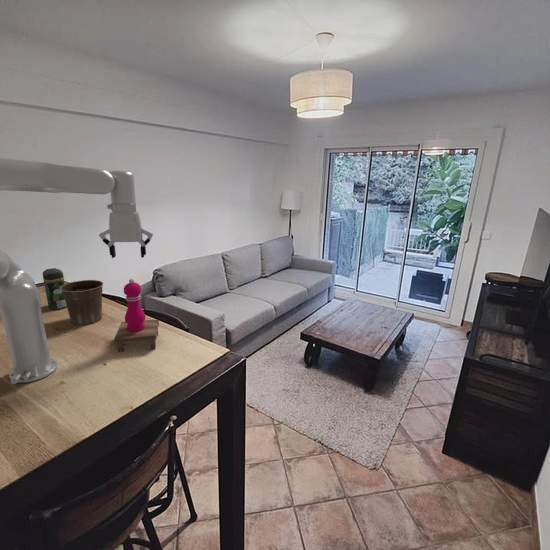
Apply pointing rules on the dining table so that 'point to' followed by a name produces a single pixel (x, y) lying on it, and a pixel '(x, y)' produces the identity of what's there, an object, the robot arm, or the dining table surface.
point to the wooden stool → (137, 335)
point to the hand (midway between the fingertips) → (128, 256)
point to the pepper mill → (134, 307)
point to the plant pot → (83, 301)
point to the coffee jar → (54, 288)
